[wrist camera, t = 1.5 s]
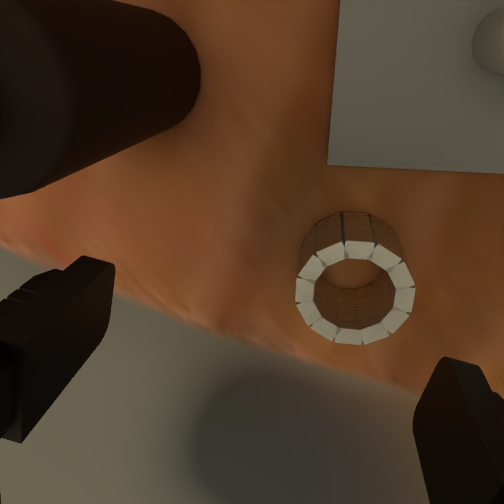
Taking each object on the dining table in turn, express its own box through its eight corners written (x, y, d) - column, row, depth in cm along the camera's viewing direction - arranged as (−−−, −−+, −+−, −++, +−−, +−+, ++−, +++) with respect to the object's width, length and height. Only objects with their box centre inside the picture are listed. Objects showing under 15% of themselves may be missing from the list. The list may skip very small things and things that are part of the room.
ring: (408, 215, 28) (423, 246, 24) (393, 306, 31) (404, 349, 26) (303, 208, 29) (299, 237, 25) (298, 297, 32) (292, 338, 27)
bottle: (194, 3, 26) (-136, -121, 7) (208, 128, 28) (-12, 263, 10) (82, 15, 27) (-441, -67, 9) (105, 134, 29) (-260, 264, 11)
